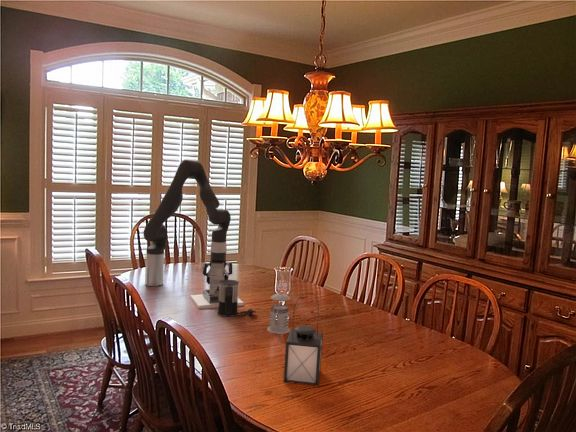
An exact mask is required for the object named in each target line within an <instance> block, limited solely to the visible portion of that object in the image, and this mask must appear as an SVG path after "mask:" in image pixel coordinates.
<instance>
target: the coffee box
mask: <svg viewBox="0 0 576 432" xmlns="http://www.w3.org/2000/svg"><path fill="white" fill-rule="evenodd" d="M209 263H210V262H209ZM224 266H225V261H222V262H215V261H211V263H210V266H209V269H210V284H209V289H208V290H209V295H219V281H221V280H225V273H224Z"/></svg>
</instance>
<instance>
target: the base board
mask: <svg viewBox="0 0 576 432" xmlns="http://www.w3.org/2000/svg"><path fill="white" fill-rule="evenodd" d="M215 296H219V295H215ZM211 297H213V296H211ZM189 298H191V299H190V300H191V302H192V303H193V304H194V306H195V307H196V308H197V309H198V310H201V309H204V310H205V309H213V308H217V309H218V307H219V303H209V302H208V301H207V300H206V299H205V298H204V297H203V293H201V294H190V296H189ZM244 304H245V302H244V301H242V299H240V297H238V302H237V307H241V306H244Z"/></svg>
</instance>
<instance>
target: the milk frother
mask: <svg viewBox="0 0 576 432" xmlns="http://www.w3.org/2000/svg"><path fill="white" fill-rule="evenodd" d="M239 284H240V281H239V280H236V279H228V280H221V281H219V307H217V314H218V315H219V316H222V317H234V316H237V315H241V314H242V315H243V314H248V315H249V316H252V315H253V314H254V313H257V312H256V310H253V309H252V308H251V309H248V310H243V311H239V312H238V306H237V302H238V298H239V297H238V296H239Z"/></svg>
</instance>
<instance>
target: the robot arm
mask: <svg viewBox="0 0 576 432" xmlns="http://www.w3.org/2000/svg"><path fill="white" fill-rule="evenodd" d="M187 179H194V180H195V181H196V182H197V184H198V186H199V198H200V200H201V202H202V203H203V206H204V207H205V210H206V213H207V217H208V221H209V222H210V223H211V224H212V225H216V226H217V225H218V226H217V227H216V228H215V229H213V230H212V232H211V243H210V261H209V262H203V265H202V275H203V276H205V277H206V284H207V285H210V268H209V267H210V263H211V261H215V262H222V261H225V266H224V273H225V280H229V276H230V275H233V263H232V262H231V261H229V262H228V261H227V250H228V249H227V233H228V230H229V227H230V224H231V216H232V215H231V213H230V211H229V210H228V209H219V207H220V201H219V199H218V197H217V196H216V194H215V192H214V190H213V188H212V187H211V184H210V182H209V180H208V179H209V178H208V177H207V174H206V171H205V168H204V166H203V164H202V163H201V162H200V161H198V160H193V159H184V160H182V161H181V162H180V164H179V165H178V167H177V169H176V171H175V174H174V177H173V180H172V181H171V183H170V185H169V188H168V189H167V190H166V192H165V194H164V195H163V197H162V199H161V201H160V203H159V205H158V207H157V209H156V210H155V212H154V214H153V215H152V217H151V218H150V220H148V223H147V224H146V225H145V227H144V229H143V233H142V234H143V238H144V239H145V241H147V242H152V243H151V244H150V245H149V246H148V247H146V252H145V253H146V254H145V255H146V257H145V258H146V260H145V271H144V272H145V273H144V277H145V278H144V284H145V285H147V286H146V287H160V286H159V285H161V286H163V285H164V272H165V271H164V266H165V265H164V264H165V249H166V247H167V236H168V234H167V228H166V226H165V225H164V223H165V222H167V220H168V219H169V218H171V217H172V216H173V215H175V213H176V212H177V211H178V209H179V208H180V206H181V204H182V202H183V199H184V198H183V197H184V196H183V195H184V194H183V188H184V187H183V186H184V184H185V182H186V181H187ZM226 266H227V267H228V270H226ZM208 268H209V269H208ZM207 270H208V271H207ZM162 284H163V285H162Z"/></svg>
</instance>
